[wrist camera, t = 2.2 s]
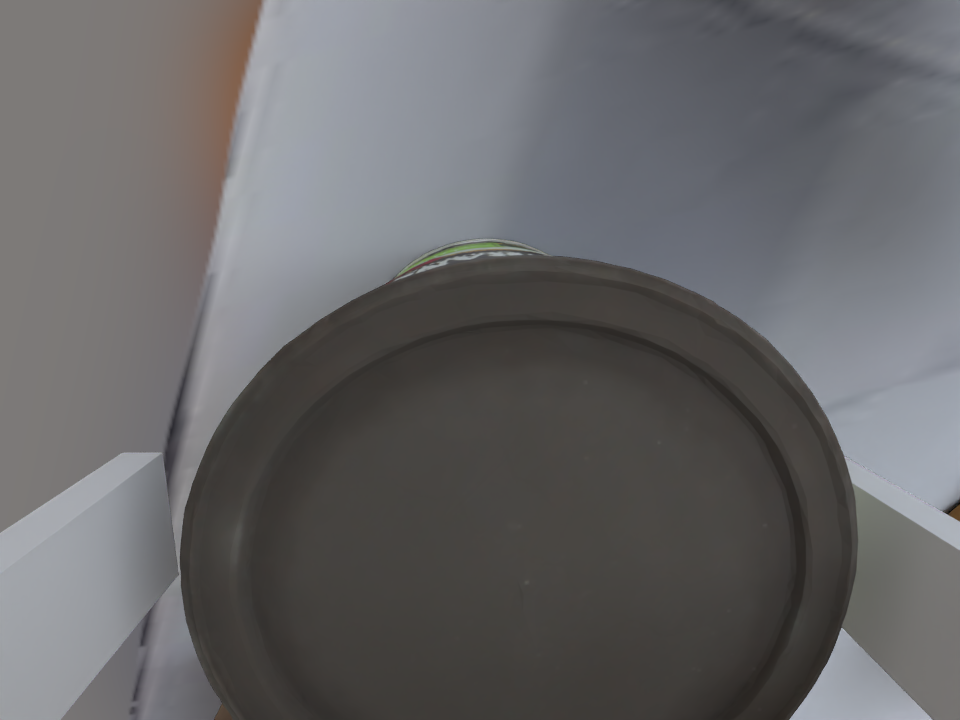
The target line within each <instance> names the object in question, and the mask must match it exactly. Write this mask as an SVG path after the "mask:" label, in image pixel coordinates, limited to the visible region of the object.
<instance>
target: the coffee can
mask: <svg viewBox="0 0 960 720" xmlns="http://www.w3.org/2000/svg"><path fill="white" fill-rule="evenodd" d="M857 553H858V527H857V512H856V500H855V493H854V489H853V485H852V481H851V478H850V474H849V471H848V467H847V464H846V460H845V457H844V455H843V452H842V450H841V447H840V445H839V443H838V440H837V438H836V436H835V433H834V431H833V429H832V427H831V425H830V423H829V420H828V418H827V417H826V415H825V413H824V412H823V410H822V408H821V407H820V405H819V403H818V402H817V400H816V398H815V396H814V395H813V393H812V392H811V391H810V389H809V388H808V387H807V385H806V384H805V383H804V381H803V380H802V379H801V377H800V376H799V375H798V373H797V372H796V371H795V369H794V368H793V367H792V366H791V365H790V364H789V362H788V361H787V360H786V359H785V358H784V357H783V356H782V355H781V354H780V353H779V352H778V351H777V350H776V349H775V348H774V347H773V346H772V345H771V344H770V343H769V341H768V340H767V339H766V338H764V337H763V336H762V335H760V334H759V333H758V332H756V331H755V330H754V329H753V328H751V327H750V326H749V325H747V324H746V323H745V322H743V321H742V320H741V319H739V318H738V317H736V316H735V315H733V314H731V313H730V312H728V311H727V310H725V309H723V308H722V307H720V306H718V305H717V304H716V303H714V302H713V301H711V300H709V299H707V298H705V297H703V296H701V295H699V294H697V293H695V292H692V291H690V290H688V289H686V288H684V287H681V286H679V285H677V284H675V283H672V282H670V281H668V280H665V279H662V278H659V277H656V276H653V275H649V274H646V273H643V272H640V271H637V270H634V269H631V268H626V267H621V266H616V265H611V264H607V263H603V262H599V261H593V260H586V259H579V258H572V257H563V256H551V255H548V254H546V253H544V252H542V251H540V250H538V249H535V248H533V247H530V246H528V245H525V244H522V243H518V242H514V241H509V240H502V239H472V240H465V241H460V242H455V243H452V244H449V245H446V246H442V247H440V248H437V249H435V250H432V251H430V252H428V253H425V254H424V255H422V256H421V257H419V258H418V259H416V260H414V261H413V262H412V263H410V264H409V265H408V266H406V267H405V268H404V269H403V270H402V271H401V272H400V273H399V274H398V275H397V276H396V277H395V278H394V279H393V280H391V281H390V282H388V283H386V284H385V285H383V286H381V287H379V288H377V289H375V290H373V291H370V292H368V293H366V294H364V295H362V296H360V297H358V298H356V299H354V300H352V301H350V302H349V303H347V304H346V305H344V306H342V307H341V308H339V309H337V310H336V311H334V312H332V313H331V314H329V315H327V316H326V317H324V318H322V319H321V320H319V321H318V322H316V323H315V324H314V325H312V326H311V327H310V328H308V329H307V330H306V331H304V332H303V333H302V334H300V335H299V336H298V337H296V338H295V339H293V340H292V341H291V342H289V343H288V344H286V345H285V346H284V347H283V348H282V349H281V350H280V351H279V352H278V353H277V354H276V355H275V356H274V357H273V358H272V359H271V360H270V361H269V362H268V363H267V364H266V365H265V366H264V367H263V368H262V369H261V370H260V371H259V372H258V373H257V375H256V376H255V377H254V378H253V379H252V381H251V382H250V383H249V384H248V385H247V387H246V388H245V389H244V390H243V391H242V392H241V394H240V395H239V396H238V398H237V399H236V400H235V402H234V403H233V404H232V405H231V407H230V408H229V410H228V411H227V413H226V414H225V416H224V418H223V419H222V421H221V423H220V424H219V426H218V427H217V429H216V431H215V433H214V435H213V437H212V439H211V441H210V443H209V445H208V447H207V449H206V451H205V454H204V456H203V459H202V461H201V463H200V466H199V468H198V471H197V473H196V476H195V479H194V481H193V484H192V487H191V491H190V495H189V498H188V501H187V504H186V507H185V512H184V519H183V528H182V537H181V549H180V569H181V589H182V596H183V603H184V610H185V616H186V622H187V625H188V628H189V632H190V635H191V638H192V642H193V645H194V648H195V651H196V653H197V656H198V658H199V661H200V663H201V665H202V668H203V670H204V672H205V674H206V676H207V678H208V680H209V682H210V685H211V686H212V688H213V690H214V691H215V693H216V694H217V695H218V697H219V698H220V699H221V702H222V704H223V706H224V707H225V708H226V709H227V711H228V712H229V714H230V715H231V717H232V719H233V720H789V719H790V718H791V716H792V715H793V714H794V712H795V711H796V710H797V708H798V707H799V706H800V704H801V703H802V702H803V700H804V699H805V698H806V696H807V695H808V693H809V692H810V690H811V689H812V687H813V686H814V684H815V683H816V681H817V679H818V677H819V675H820V674H821V672H822V670H823V668H824V667H825V665H826V664H827V662H828V660H829V657H830V655H831V653H832V651H833V649H834V646H835V643H836V641H837V638H838V635H839V632H840V630H841V627H842V624H843V621H844V619H845V616H846V613H847V609H848V605H849V601H850V597H851V594H852V589H853V585H854V580H855V576H856V571H857Z"/></svg>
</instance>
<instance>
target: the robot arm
mask: <svg viewBox="0 0 960 720" xmlns="http://www.w3.org/2000/svg"><path fill="white" fill-rule="evenodd" d="M844 457H845V456H844ZM845 460H846V464H847V467H848V471H849V474H850V478H851V481H852V485H853V489H854V493H855V500H856V512H857V527H858V553H857V571H856V576H855V580H854V585H853V589H852V594H851V597H850V601H849V605H848V609H847V613H846V616H845V619H844V621H843V624H842V628H843V629H844V630H845V631H846V632H847V633H848V634H849V635H850V636H851V637H852V638H853V639H854V640H855V641H856V642H857V643H858V644H859V645H860V646H861V647H862V648H863V649H864V650H865V651H866V652H867V653H868V654H869V655H870V656H871V657H872V658H873V659H874V660H875V661H876V662H877V663H878V664H879V665H880V666H881V667H882V668H883V669H884V670H885V672H886V673H887V674H888V675H889V676H890V677H891V678H892V679H893V680H894V681H895V682H896V683H897V684H898V685H899V686H900V687H901V688H902V689H903V690H904V691H905V692H906V693H907V694H908V695H909V696H910V697H911V698H912V699H913V700H914V701H915V702H916V703H917V704H918V705H919V706H920V707H921V708H922V709H923V710H924V711H925V712H926V713H927V714H928V715H929V716H930V717H931V718H932V719H933V720H960V521H958V520H956V519H954V518H952V517H951V516H949V515H947V514H945V513H944V512H942V511H940V510H938V509H937V508H935V507H933V506H931V505H930V504H928V503H926V502H924V501H923V500H921V499H919V498H917V497H916V496H914V495H912V494H910V493H909V492H907V491H905V490H903V489H902V488H900V487H898V486H896V485H895V484H893V483H891V482H889V481H887V480H886V479H884V478H882V477H880V476H879V475H877V474H875V473H873V472H872V471H870V470H868V469H866V468H865V467H863V466H861V465H859V464H858V463H856V462H854V461H852V460H851V459H849V458H847V457H845ZM178 575H179V573H178V565H177V558H176V550H175V543H174V535H173V527H172V520H171V512H170V505H169V497H168V490H167V482H166V474H165V467H164V459H163V453H162V452H158V453H157V452H156V453H155V452H153V453H151V452H148V453H146V452H143V453H142V452H139V453H138V452H136V453H135V452H134V453H133V452H125V453H124V452H123V453H121V454H119V455H118V456H116V457H115V458H114V459H112V460H110V461H109V462H107V463H106V464H104V465H103V466H101V467H100V468H98V469H97V470H95V471H94V472H92V473H91V474H89V475H87V476H86V477H84V478H83V479H81V480H80V481H78V482H77V483H75V484H74V485H72V486H71V487H69V488H68V489H66V490H65V491H63V492H62V493H60V494H59V495H57V496H56V497H54V498H53V499H51V500H49V501H48V502H46V503H45V504H43V505H42V506H40V507H39V508H37V509H36V510H34V511H33V512H31V513H30V514H28V515H27V516H25V517H24V518H22V519H20V520H19V521H18V522H16V523H15V524H13V525H11V526H10V527H8V528H7V529H5V530H4V531H2V532H1V533H0V720H61V719H62V717H63V716H64V715H65V714H66V713H67V711H68V710H69V709H70V708H71V706H72V705H73V704H74V703H75V702H76V700H77V699H78V698H79V697H80V695H81V694H82V693H83V692H84V690H85V689H86V688H87V687H88V685H89V684H90V683H91V682H92V681H93V679H94V678H95V677H96V676H97V674H98V673H99V672H100V671H101V669H102V668H103V667H104V666H105V664H106V663H107V662H108V661H109V660H110V658H111V657H112V656H113V655H114V653H115V652H116V651H117V650H118V649H119V647H120V646H121V645H122V643H123V642H124V641H125V640H126V639H127V637H128V636H129V635H130V634H131V633H132V631H133V630H134V629H135V628H136V626H137V625H138V624H139V623H140V621H141V620H142V619H143V618H144V617H145V615H146V614H147V613H148V612H149V610H150V609H151V608H152V607H153V605H154V604H155V603H156V602H157V601H158V599H159V598H160V597H161V596H162V594H163V593H164V592H165V591H166V589H167V588H168V587H169V586H170V584H171V583H172V582H173V581H174V580H175V578H176V577H177V576H178Z"/></svg>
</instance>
